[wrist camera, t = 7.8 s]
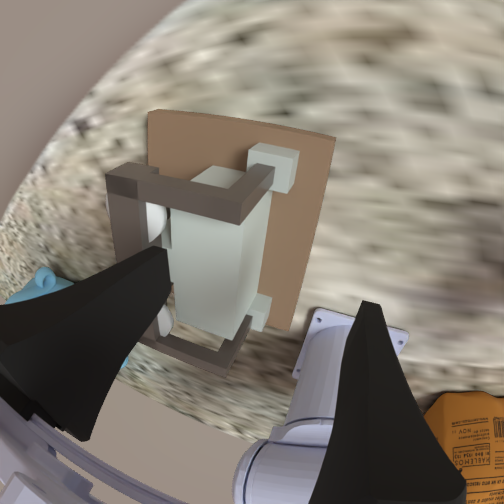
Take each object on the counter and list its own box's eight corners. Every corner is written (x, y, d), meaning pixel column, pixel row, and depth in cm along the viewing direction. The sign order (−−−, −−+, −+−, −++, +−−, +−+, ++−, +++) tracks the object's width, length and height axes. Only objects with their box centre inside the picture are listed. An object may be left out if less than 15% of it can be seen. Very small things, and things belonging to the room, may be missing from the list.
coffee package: (480, 435, 27) (467, 590, 9) (402, 428, 29) (366, 603, 12) (528, 392, 21) (532, 577, 3) (445, 381, 24) (421, 610, 6)
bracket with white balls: (159, 293, 25) (124, 335, 21) (150, 144, 18) (93, 171, 14) (251, 325, 23) (225, 377, 19) (275, 166, 16) (241, 203, 12)
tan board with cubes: (163, 279, 28) (124, 323, 23) (158, 109, 20) (95, 128, 15) (291, 321, 26) (270, 380, 21) (336, 137, 17) (324, 166, 12)
